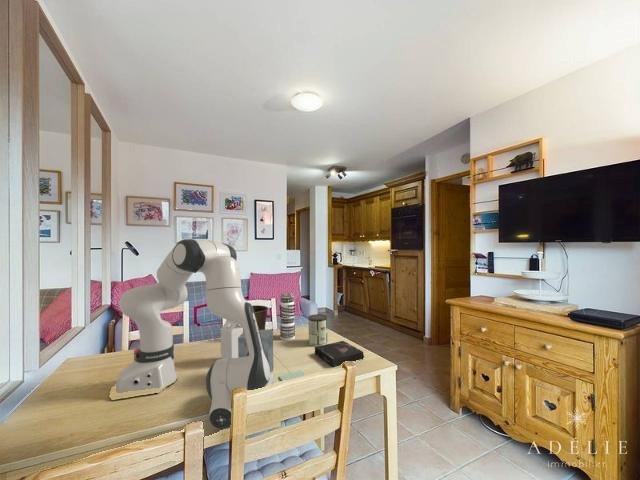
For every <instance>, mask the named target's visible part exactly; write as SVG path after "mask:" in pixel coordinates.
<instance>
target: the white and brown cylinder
mask: <svg viewBox="0 0 640 480" xmlns="http://www.w3.org/2000/svg"><path fill="white" fill-rule="evenodd" d="M279 297H280V302H279V306H278V307H279V308H278V309H279V318H280V326H279V330H280V331H279V334H280V335H279V336H280V337H279V338H280V340H283V341H291V340H295V338H296V330H295V329H296V324H295V315H296V314H295V312H296V308H295V307H296V304H295V295H294V294H293V293H291V292H284V293H282V294H281V295H280V296H279Z"/></svg>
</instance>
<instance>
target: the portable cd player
mask: <svg viewBox="0 0 640 480" xmlns="http://www.w3.org/2000/svg"><path fill="white" fill-rule="evenodd" d="M314 355H315V356H316V357H318V358H320V360H322V361H324V362H325V363H326V364H327V365H329V367H331V368H337V367H340V366H342V365H341V364H342V363H343V362H345V361H355V362H357V361H356V360H359V359H362V360H364V359H363V358H365V355H364V352H363V351H362V350H360V349H359V348H357V347H355V346H354V345H352V344H350V343H348V342H346V341H345V340H340V341H337V342H336V341H335V342H331V343H327V344H326V345H322V346H314ZM359 361H360V360H359Z"/></svg>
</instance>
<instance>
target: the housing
mask: <svg viewBox="0 0 640 480" xmlns="http://www.w3.org/2000/svg"><path fill="white" fill-rule="evenodd" d="M260 335H261V339H262V343H263V347H264V351H265V354H266V357H267V360H268V364H269V367H270V372H272V373H273V371H274V330H273V329H265V330H260ZM248 352H249V351H248V346H247V342H246V337H245V333H244V332H243V333H242V334H241V335H240V336H239V337H238V357H245V356H246V355H247V353H248Z"/></svg>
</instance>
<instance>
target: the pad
mask: <svg viewBox="0 0 640 480" xmlns="http://www.w3.org/2000/svg"><path fill="white" fill-rule="evenodd" d="M304 375H307V374H306V373H305V372H304V371H303V370H297V371H293V372H290V373H285V374H282V375H279V376H278V379H279V380H280V381H281V382H282V381H283V380H287V379H292V378H296V377H301V376H304Z"/></svg>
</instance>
